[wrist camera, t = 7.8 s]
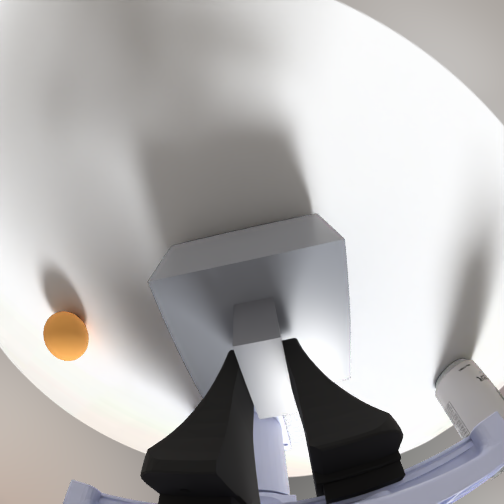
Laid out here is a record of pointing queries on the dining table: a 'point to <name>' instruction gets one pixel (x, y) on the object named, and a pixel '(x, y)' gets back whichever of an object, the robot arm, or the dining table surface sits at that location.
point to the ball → (65, 336)
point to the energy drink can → (468, 397)
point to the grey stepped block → (259, 305)
